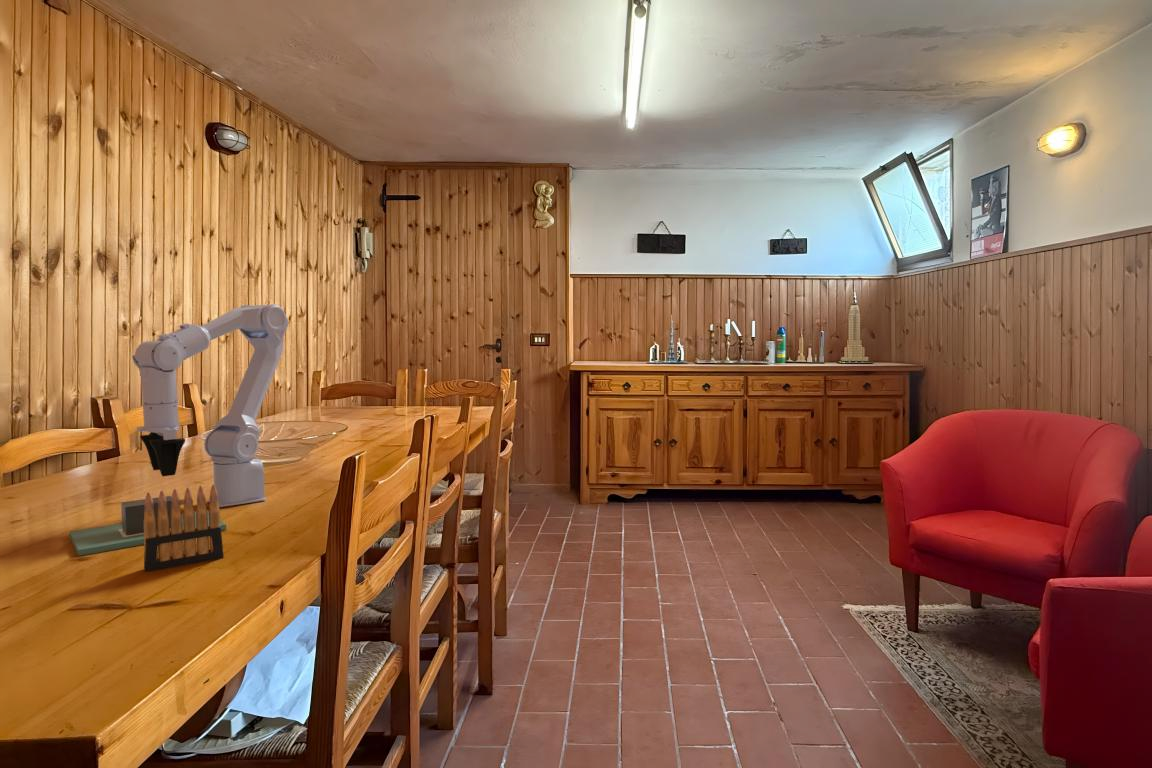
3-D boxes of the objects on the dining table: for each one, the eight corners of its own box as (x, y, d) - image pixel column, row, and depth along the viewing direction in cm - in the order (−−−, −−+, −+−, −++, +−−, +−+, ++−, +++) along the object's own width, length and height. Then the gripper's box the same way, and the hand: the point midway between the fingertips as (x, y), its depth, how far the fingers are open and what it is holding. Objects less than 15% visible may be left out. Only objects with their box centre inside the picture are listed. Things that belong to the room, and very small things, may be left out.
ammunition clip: (145, 572, 101) (141, 494, 100) (144, 568, 103) (140, 492, 102) (223, 558, 108) (220, 484, 107) (221, 555, 109) (218, 482, 108)
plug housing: (190, 519, 126) (189, 493, 126) (196, 523, 123) (195, 497, 123) (122, 530, 119) (121, 502, 119) (126, 535, 116) (125, 507, 116)
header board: (207, 514, 133) (206, 497, 133) (226, 529, 123) (225, 511, 123) (69, 536, 119) (68, 517, 119) (78, 556, 108) (77, 534, 108)
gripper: (128, 401, 131) (132, 469, 132) (143, 407, 121) (147, 481, 122) (169, 399, 136) (173, 464, 137) (187, 404, 125) (191, 475, 126)
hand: (164, 472), depth 130 cm, fingers open, 7 cm apart
